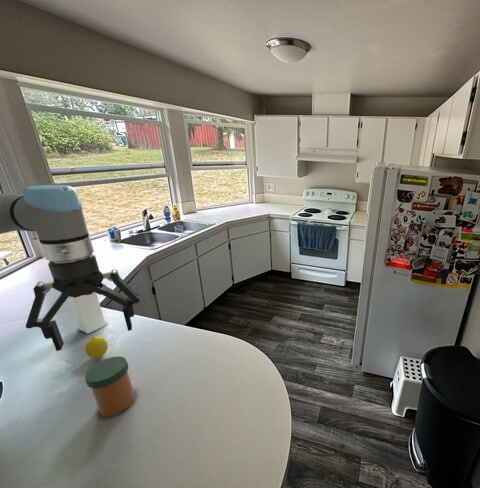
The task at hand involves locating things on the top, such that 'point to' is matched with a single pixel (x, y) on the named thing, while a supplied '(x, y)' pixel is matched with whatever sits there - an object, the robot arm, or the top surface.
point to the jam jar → (114, 396)
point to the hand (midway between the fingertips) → (97, 336)
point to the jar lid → (106, 372)
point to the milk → (87, 312)
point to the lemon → (96, 347)
